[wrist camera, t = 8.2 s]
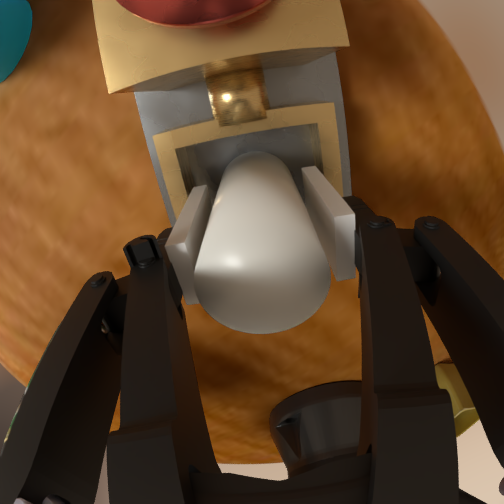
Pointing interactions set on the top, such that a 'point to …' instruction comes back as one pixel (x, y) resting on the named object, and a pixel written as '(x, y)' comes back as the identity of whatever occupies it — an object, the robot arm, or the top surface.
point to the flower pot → (457, 397)
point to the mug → (13, 33)
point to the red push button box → (229, 85)
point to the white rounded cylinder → (260, 250)
